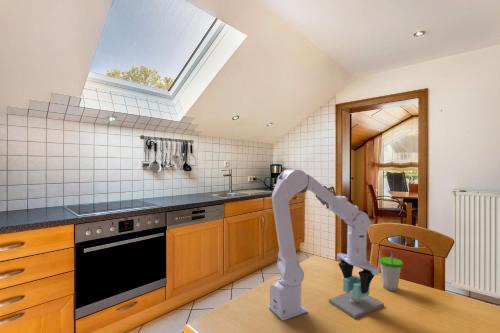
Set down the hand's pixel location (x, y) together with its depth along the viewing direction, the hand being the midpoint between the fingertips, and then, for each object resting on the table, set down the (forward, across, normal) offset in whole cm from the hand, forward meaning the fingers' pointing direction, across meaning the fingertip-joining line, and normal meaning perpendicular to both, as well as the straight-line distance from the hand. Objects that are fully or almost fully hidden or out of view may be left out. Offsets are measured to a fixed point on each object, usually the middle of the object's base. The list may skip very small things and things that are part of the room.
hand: (356, 288), depth 82 cm
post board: (+5, 0, 0) cm, 5 cm away
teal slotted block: (+1, 0, 0) cm, 1 cm away
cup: (+6, +1, -20) cm, 21 cm away
